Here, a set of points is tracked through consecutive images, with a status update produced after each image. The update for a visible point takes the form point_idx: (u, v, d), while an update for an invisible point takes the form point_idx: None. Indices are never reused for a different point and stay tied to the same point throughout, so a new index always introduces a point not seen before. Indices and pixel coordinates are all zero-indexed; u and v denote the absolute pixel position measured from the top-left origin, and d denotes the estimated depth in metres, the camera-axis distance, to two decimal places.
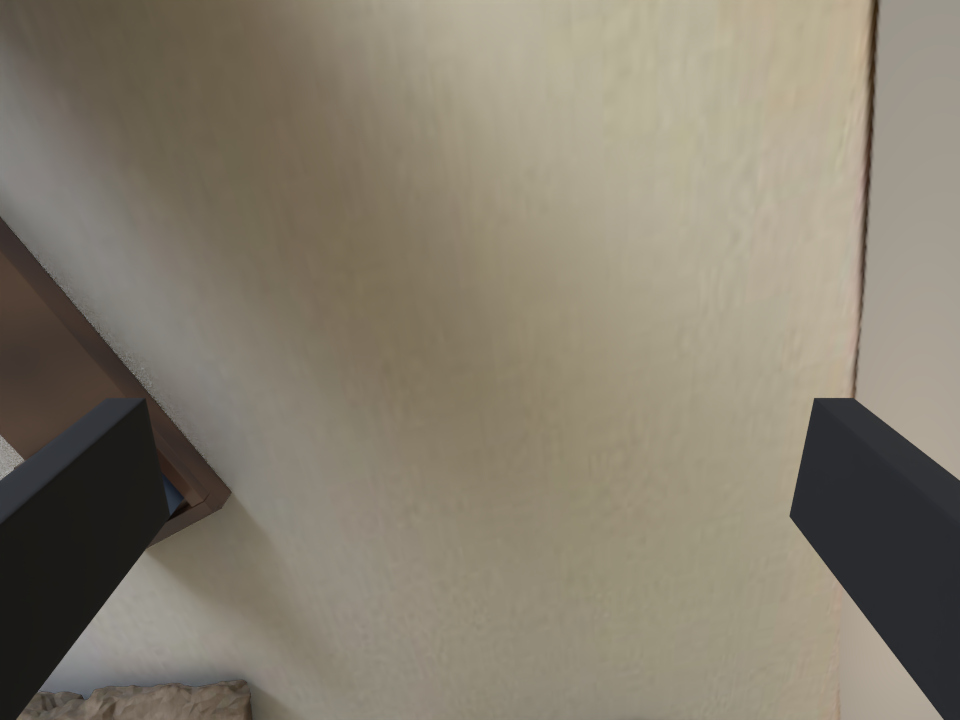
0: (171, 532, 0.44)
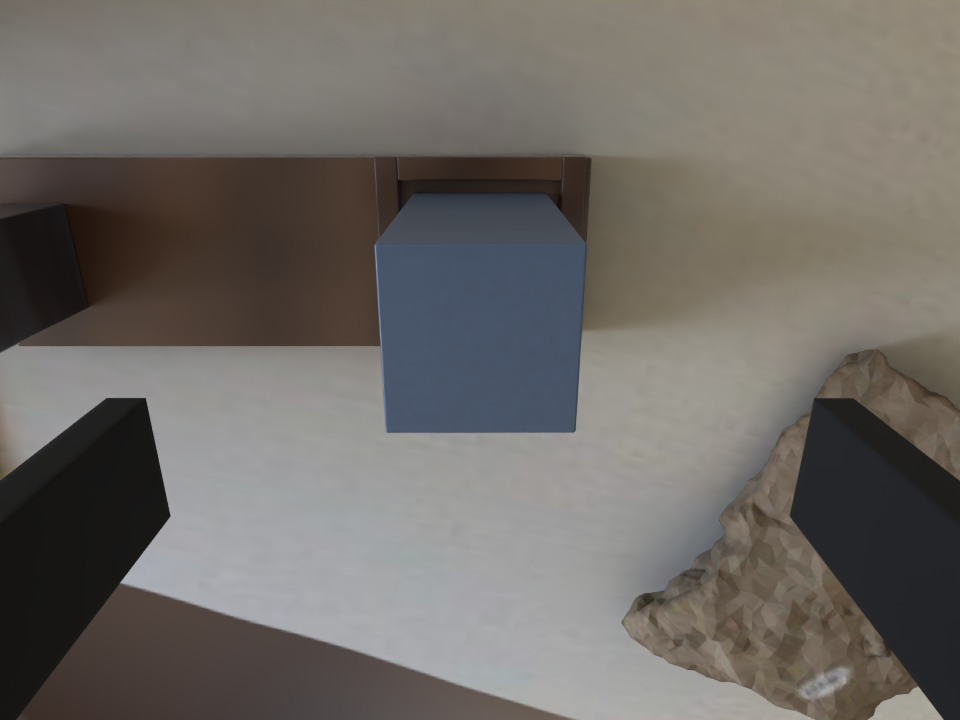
0: None
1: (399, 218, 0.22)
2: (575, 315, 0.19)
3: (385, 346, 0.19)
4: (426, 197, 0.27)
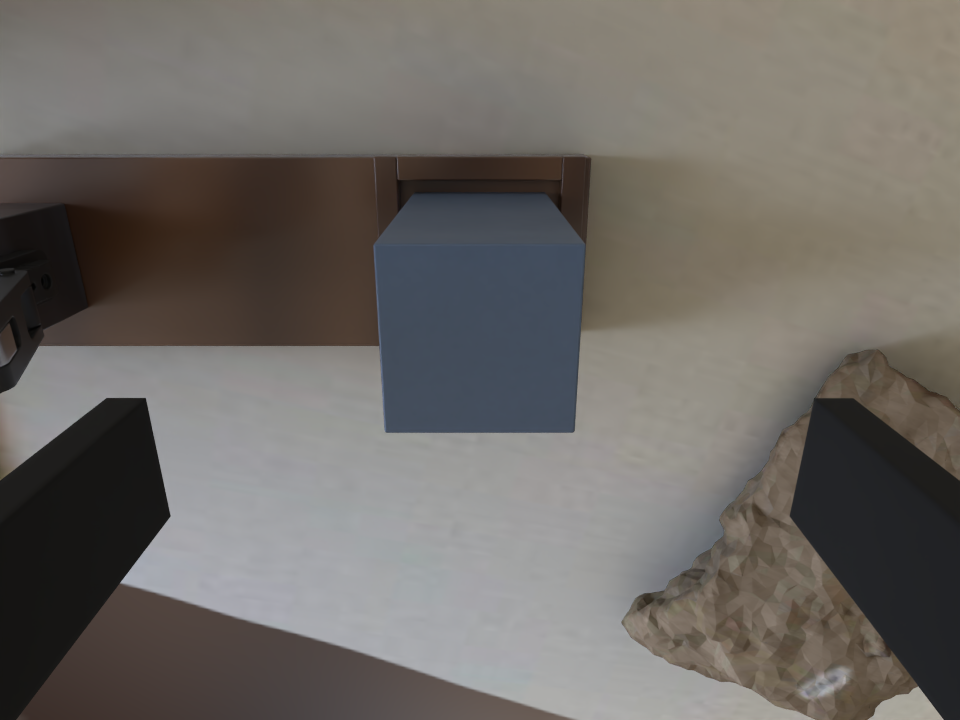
0: None
1: (398, 218, 0.22)
2: (574, 315, 0.19)
3: (384, 347, 0.19)
4: (426, 197, 0.27)
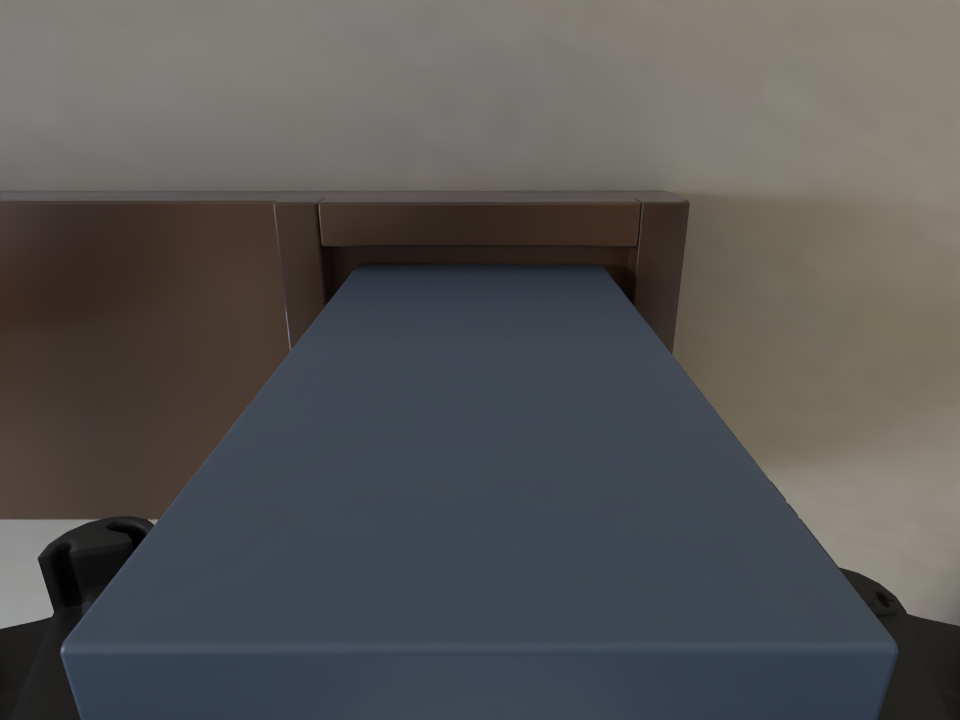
0: None
1: (272, 390, 0.09)
2: None
3: None
4: (373, 284, 0.14)
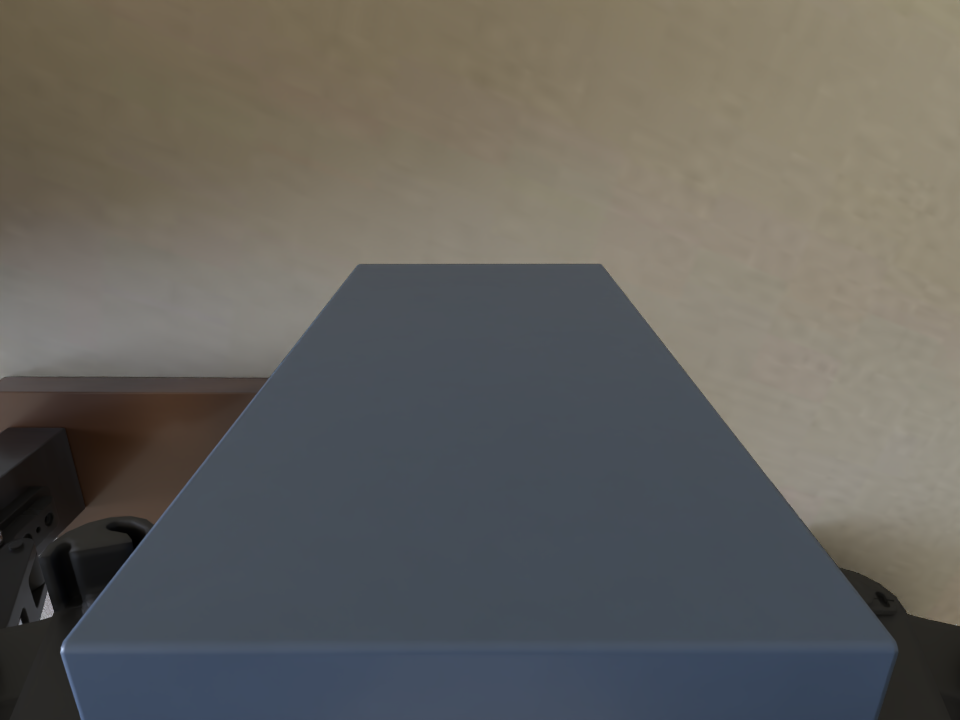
0: None
1: (272, 389, 0.09)
2: None
3: None
4: (373, 283, 0.14)
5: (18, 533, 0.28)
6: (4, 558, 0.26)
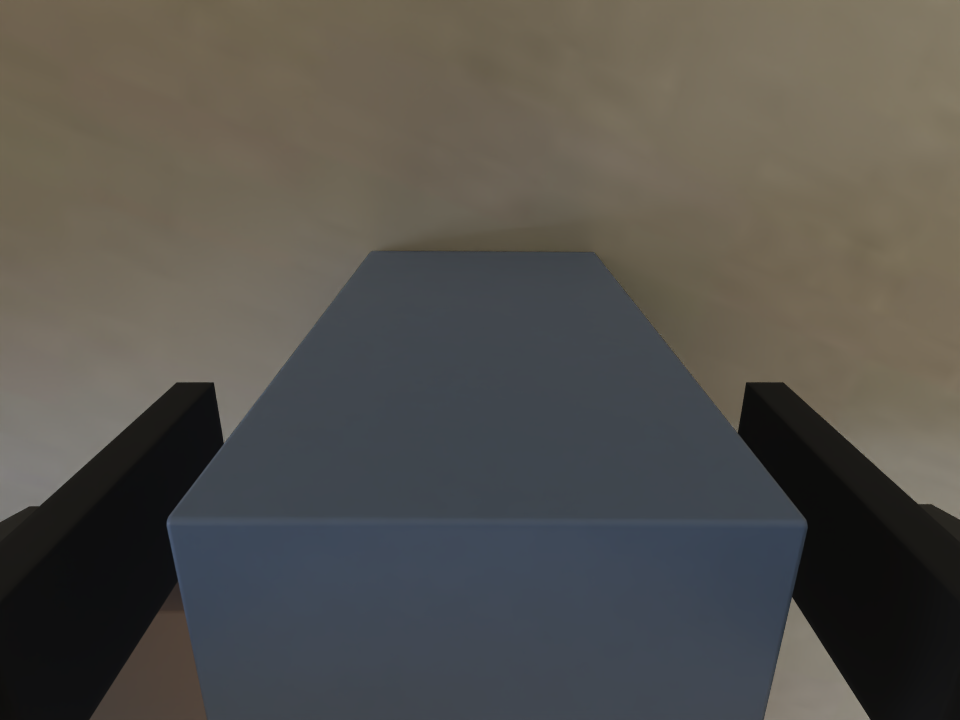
0: None
1: (305, 350, 0.10)
2: (751, 691, 0.07)
3: None
4: (386, 267, 0.15)
5: None
6: None
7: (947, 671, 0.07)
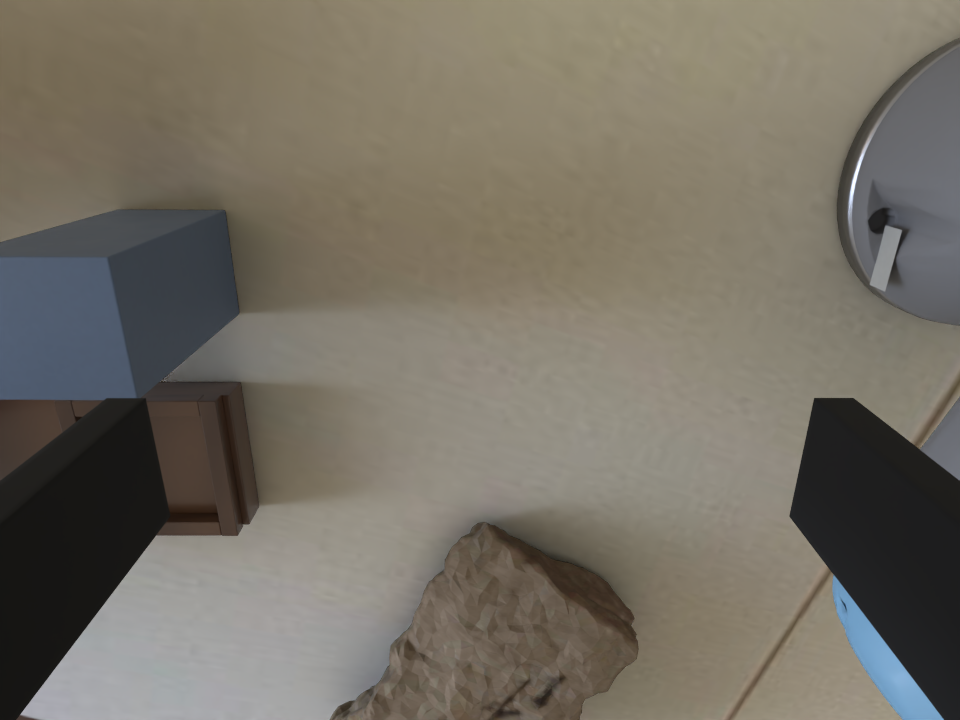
0: (221, 455, 0.38)
1: (30, 234, 0.28)
2: (113, 310, 0.25)
3: None
4: (110, 214, 0.33)
5: None
6: None
7: None
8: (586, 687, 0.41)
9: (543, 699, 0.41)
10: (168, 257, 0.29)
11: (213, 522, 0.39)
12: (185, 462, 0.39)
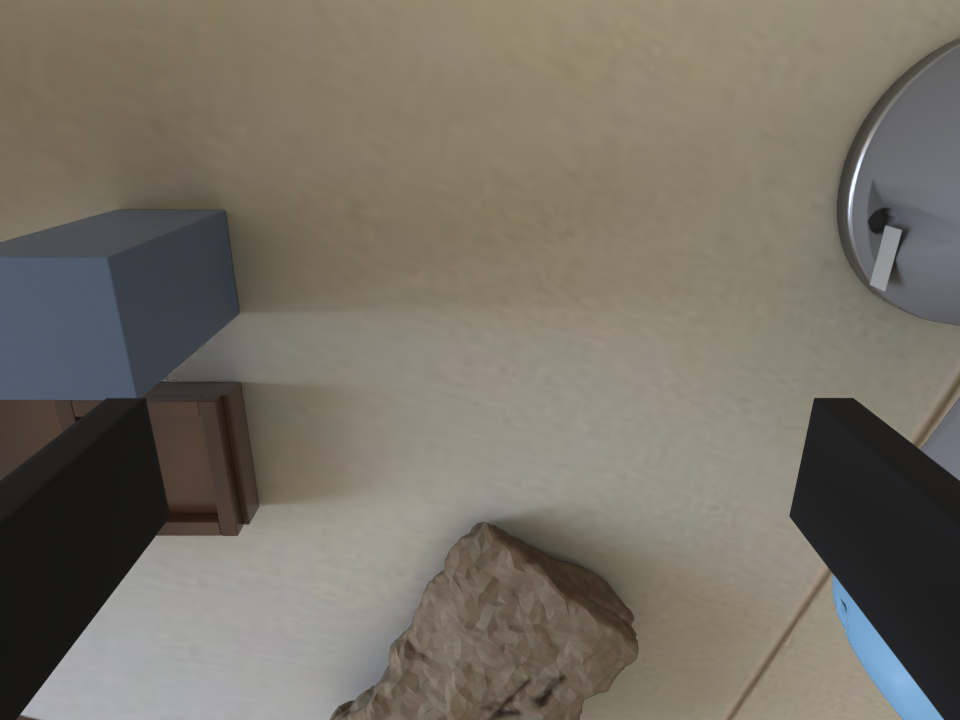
0: (221, 455, 0.38)
1: (30, 234, 0.28)
2: (113, 310, 0.25)
3: None
4: (110, 214, 0.33)
5: None
6: None
7: None
8: (586, 687, 0.41)
9: (543, 699, 0.41)
10: (168, 257, 0.29)
11: (213, 522, 0.39)
12: (185, 462, 0.39)
